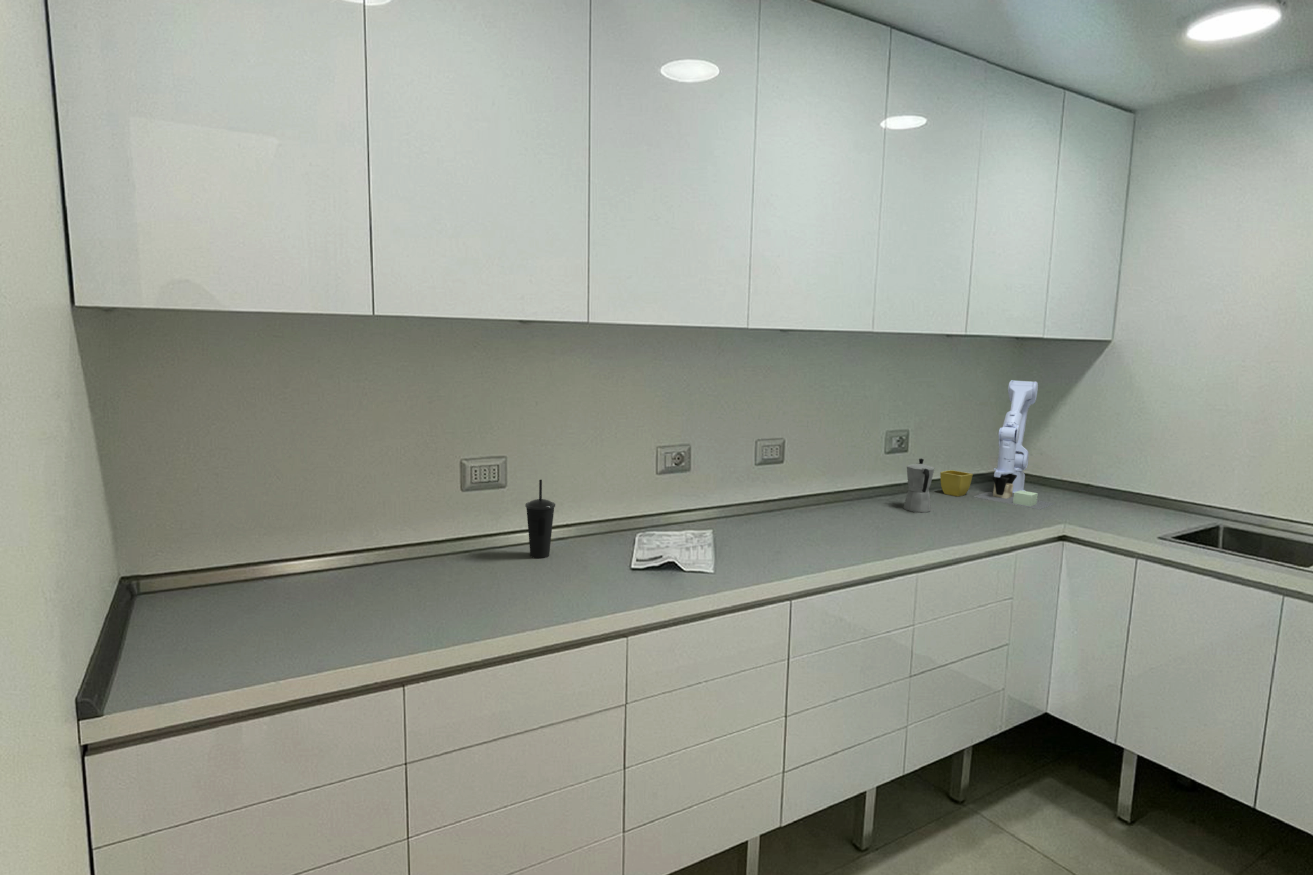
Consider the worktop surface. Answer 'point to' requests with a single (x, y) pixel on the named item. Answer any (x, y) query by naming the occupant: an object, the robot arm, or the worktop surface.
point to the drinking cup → (540, 525)
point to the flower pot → (955, 482)
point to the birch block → (1006, 493)
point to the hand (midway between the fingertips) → (1002, 493)
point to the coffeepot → (919, 487)
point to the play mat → (1010, 500)
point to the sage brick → (1025, 498)
